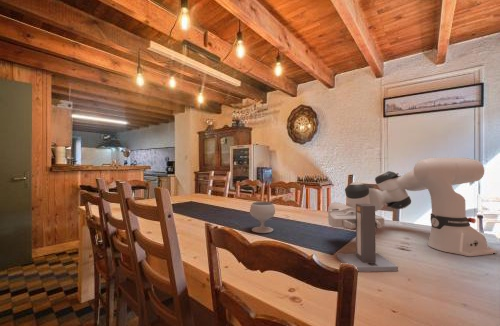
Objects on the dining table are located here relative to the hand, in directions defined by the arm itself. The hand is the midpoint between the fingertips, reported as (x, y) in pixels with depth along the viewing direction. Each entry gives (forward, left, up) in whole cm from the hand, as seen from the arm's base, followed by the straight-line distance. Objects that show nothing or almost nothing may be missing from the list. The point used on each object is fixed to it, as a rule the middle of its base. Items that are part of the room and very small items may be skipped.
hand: (366, 226), depth 82 cm
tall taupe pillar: (0, -1, -12) cm, 13 cm away
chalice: (+34, -45, -14) cm, 58 cm away
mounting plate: (0, -1, -14) cm, 14 cm away
